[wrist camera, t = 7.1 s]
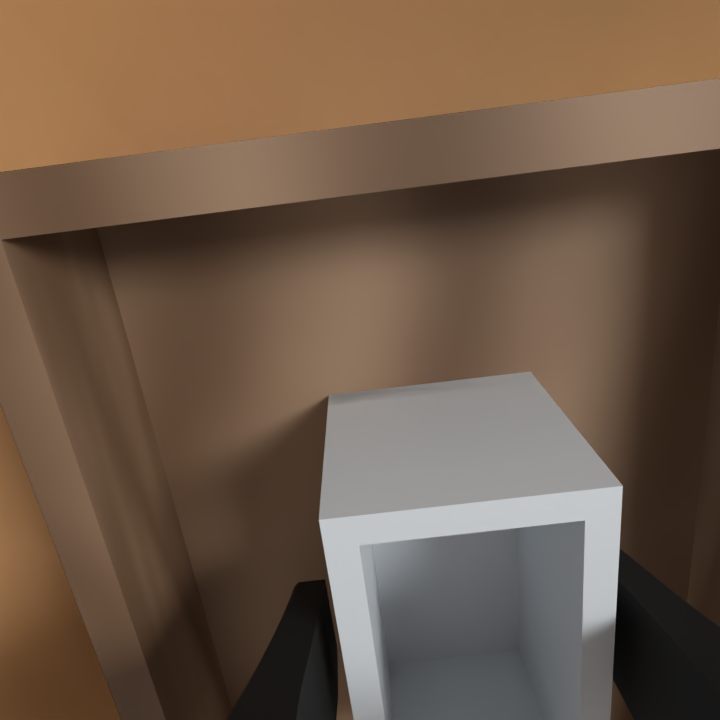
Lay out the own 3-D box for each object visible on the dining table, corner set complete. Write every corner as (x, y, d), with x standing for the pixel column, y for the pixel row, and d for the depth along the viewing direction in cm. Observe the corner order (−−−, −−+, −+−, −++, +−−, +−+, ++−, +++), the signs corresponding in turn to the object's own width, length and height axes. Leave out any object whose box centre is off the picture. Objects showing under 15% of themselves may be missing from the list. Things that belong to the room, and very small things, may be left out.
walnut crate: (759, 80, 13) (966, 46, 8) (684, 714, 20) (776, 868, 15) (56, 171, 13) (-85, 182, 9) (230, 760, 20) (199, 923, 16)
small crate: (530, 371, 14) (622, 485, 9) (534, 645, 17) (604, 834, 12) (328, 395, 14) (318, 519, 9) (369, 662, 17) (377, 856, 12)
